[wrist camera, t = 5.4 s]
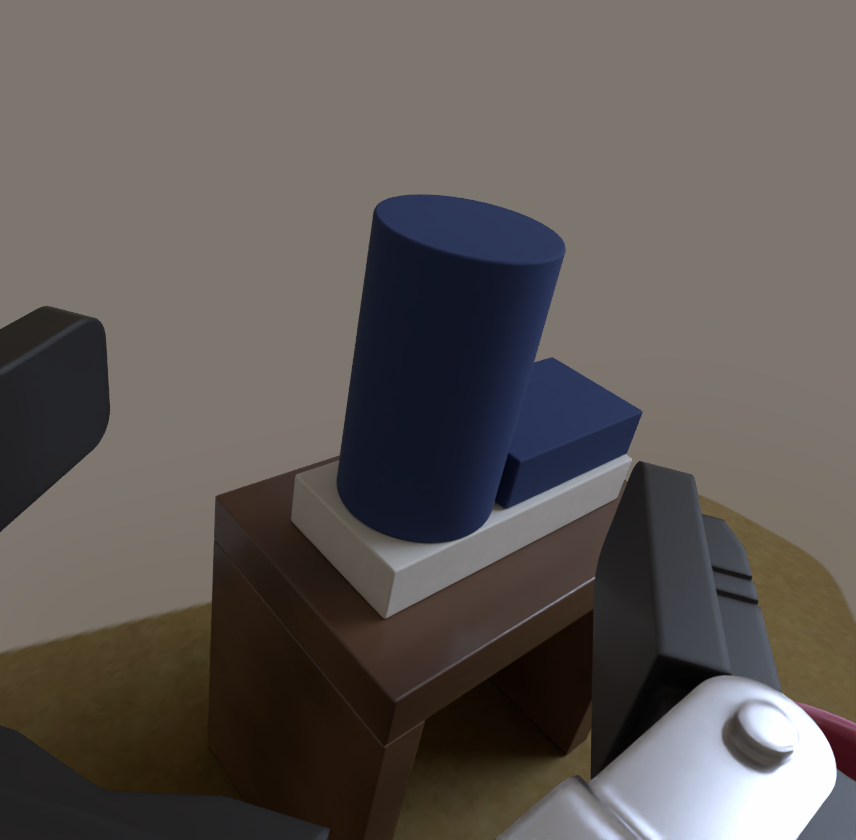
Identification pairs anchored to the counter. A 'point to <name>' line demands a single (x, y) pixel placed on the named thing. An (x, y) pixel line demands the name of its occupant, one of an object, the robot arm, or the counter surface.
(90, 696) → the counter surface
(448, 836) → the counter surface
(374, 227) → the boot
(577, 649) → the shoe bench
